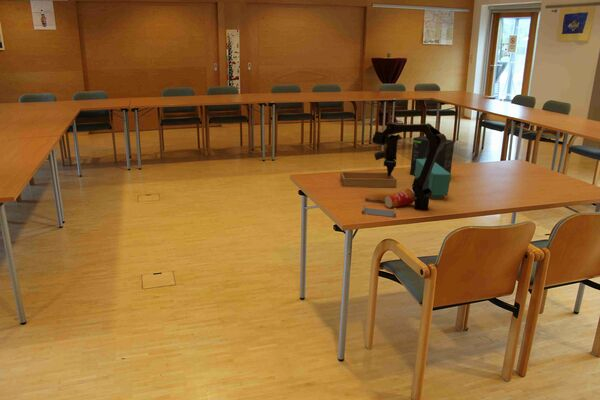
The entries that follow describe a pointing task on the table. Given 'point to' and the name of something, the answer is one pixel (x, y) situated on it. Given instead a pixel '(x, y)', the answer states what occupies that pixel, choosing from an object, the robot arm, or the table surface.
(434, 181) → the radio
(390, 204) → the coffee cup
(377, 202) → the strip
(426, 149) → the headset box
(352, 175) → the tray
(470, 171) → the table surface
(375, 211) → the mat
